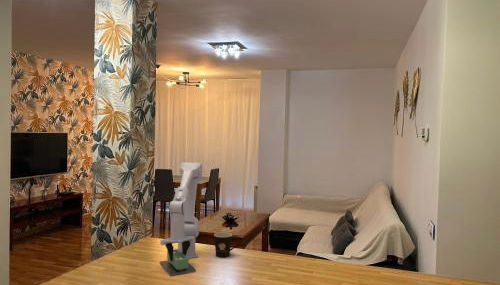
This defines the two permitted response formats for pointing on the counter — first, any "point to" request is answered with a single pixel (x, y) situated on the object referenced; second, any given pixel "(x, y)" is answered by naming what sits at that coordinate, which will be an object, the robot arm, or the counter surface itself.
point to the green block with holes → (176, 261)
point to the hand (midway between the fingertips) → (177, 259)
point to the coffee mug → (223, 244)
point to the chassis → (173, 271)
